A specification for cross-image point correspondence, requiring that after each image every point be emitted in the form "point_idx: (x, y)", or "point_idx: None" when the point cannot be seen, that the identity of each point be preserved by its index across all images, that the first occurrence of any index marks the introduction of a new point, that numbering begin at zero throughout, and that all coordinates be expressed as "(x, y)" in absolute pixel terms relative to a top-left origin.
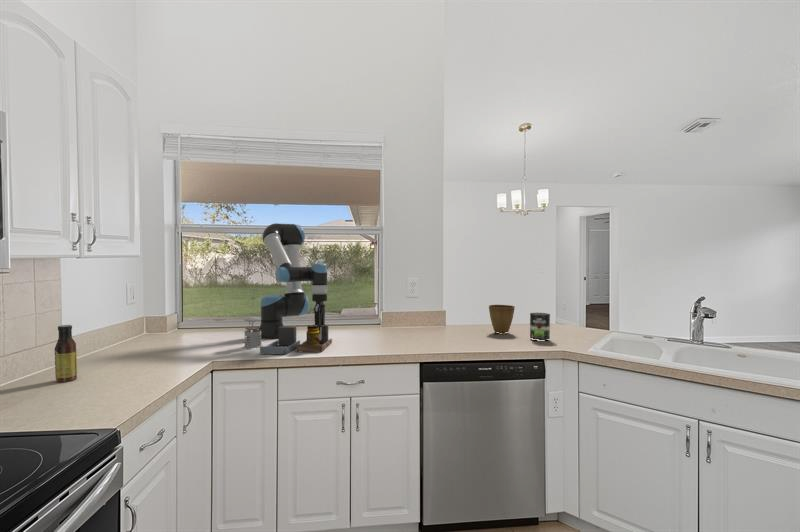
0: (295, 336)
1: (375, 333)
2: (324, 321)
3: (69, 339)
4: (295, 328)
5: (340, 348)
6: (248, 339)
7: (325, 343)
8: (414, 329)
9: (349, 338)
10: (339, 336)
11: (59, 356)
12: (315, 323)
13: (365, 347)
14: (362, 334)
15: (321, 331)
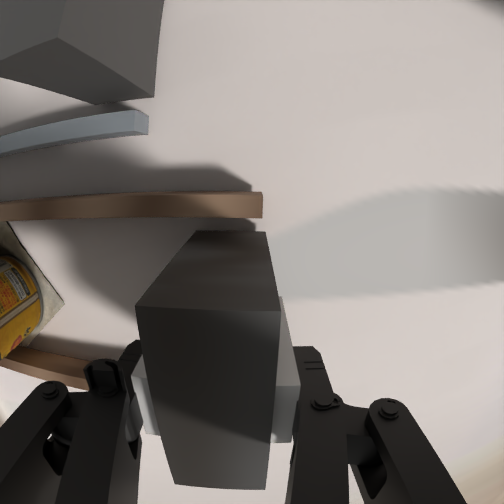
0: (89, 82)
1: (489, 456)
2: (377, 471)
3: None
4: (32, 57)
5: None
6: None
7: (63, 380)
8: (488, 498)
9: (425, 422)
10: (497, 351)
11: None
12: (24, 415)
13: (169, 499)
14: (495, 427)
15: None
